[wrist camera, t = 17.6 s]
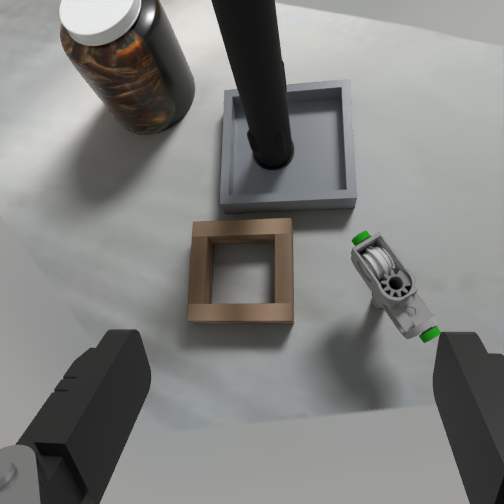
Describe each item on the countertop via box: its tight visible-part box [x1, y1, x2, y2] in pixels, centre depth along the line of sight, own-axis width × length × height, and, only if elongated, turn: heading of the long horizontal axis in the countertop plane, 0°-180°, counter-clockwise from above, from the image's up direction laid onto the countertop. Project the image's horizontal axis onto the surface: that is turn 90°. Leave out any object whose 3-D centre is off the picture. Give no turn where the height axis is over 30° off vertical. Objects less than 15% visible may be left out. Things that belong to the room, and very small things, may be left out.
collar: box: [187, 218, 294, 324], centre depth 44 cm, size 11×11×3 cm
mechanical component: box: [351, 231, 441, 343], centre depth 38 cm, size 3×10×10 cm, turn 30°
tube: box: [212, 0, 295, 170], centre depth 37 cm, size 25×6×6 cm
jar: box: [59, 0, 195, 134], centre depth 47 cm, size 12×12×15 cm
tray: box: [220, 79, 357, 214], centre depth 48 cm, size 15×15×3 cm
